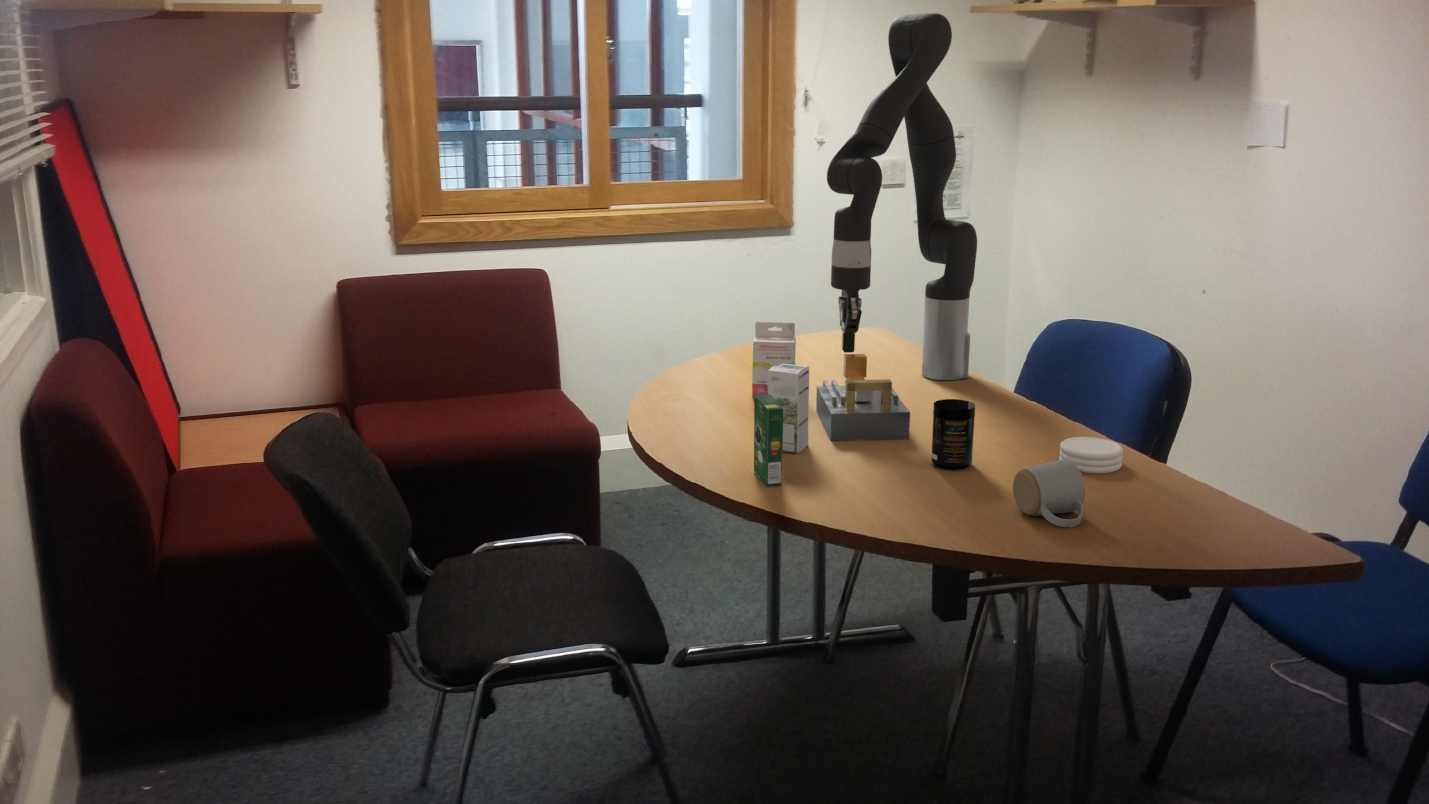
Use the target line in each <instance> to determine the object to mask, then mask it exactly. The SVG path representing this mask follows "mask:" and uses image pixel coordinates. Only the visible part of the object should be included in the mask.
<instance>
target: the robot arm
mask: <svg viewBox="0 0 1429 804" xmlns="http://www.w3.org/2000/svg"><path fill="white" fill-rule="evenodd" d="M887 36H888V39H887V40H888V50H889V55H890V60H891V63H892V67H893V71H894V76H895V77H894V78H893V80H892V81H891V82H890V83H888V84H887V85H886V86H885V87H884V88H883V89H882V90H881V91H880V92H879V93H878V94H876V96H875V97H874V98H873V100H872V101H871V102H870V103H869V105H868V106H867V107H866V110H864V113H863V115H862V117H861V119H860V122H859V123H858V125H857V127H856V130H855V131H854V133H853V134H852V135H851V136H850V137H849V139H847V141H845V143H844V144H843V145H842V146H841V148H840V149H838V151H837V152H836V154H835V155H834V156H833V157H832V159H831V161H830V162H829V164H828V168H827V172H826V181H827V185H828V187H829V189H830V190H831V191H832V192H834V193H836V194H839V195H851V196H852V195H853V197H852V200H851V202H850V205H849V206H845V207H842V208H838V209H837V210H836V211H835V213H834V218H833V219H834V221H833V243H832V247H831V248H832V249H831V271H830V273H831V275H830V286H831V288H833V289H835V290H840V291H841V292H840V293H841V294H840V295H841V296H838V301H837V303H838V311H839V315H838V317H839V325H840V330H841V332H842V337H841V340H842V341H841V343H842V344H841V350H842V351H843V353H844V354H850V353H854V352H855V345H856V342H855V341H856V334H857V333H858V331H859V327H860V322H861V317H862V312H863V311H862V309H861V308H862V302H863V301H862V298H860V294H859V292H860V290H861V291H865V290H867V289H870V287H871V274H872V273H871V271H872V243H871V242H872V241H871V239H872V238H871V237H872V218H873V214H874V211H875V209H876V204H877V201H878V197H879V195H880V191H881V188H882V184H883V172H882V168H881V166H880V164H879V163H878V161H877V160H875V159H874V158H876V157H880V156H882V155H884V154H885V153H886V152H887V151H888V150H889V148H890V146H891V144H892V142H893V140H894V138H895V136H896V134H897V132H898V130H899V127H900V126H901V124H902V122H903V121H904V122H905V129H906V138H907V139H906V140H907V145H908V153H909V158H910V159H909V160H910V164H911V169H912V170H911V172H912V177H913V183H914V191H915V192H914V193H915V194H914V195H915V200H916V201H915V202H916V203H915V204H916V220H917V221H916V222H917V237H918V238H917V239H918V245H919V246H918V247H919V250H920V253H921V255H922V257H923V258H924V259H925V260H926V261H927V262H930V263H934V264H940V265H945V266H944V271H943V272H944V273H943V275H942V276H941V277H940V278H937V279H933V280H930V281H928V282H927V283H926V284H925V285H926V286H925V292H924V295H925V296H924V298H925V299H924V318H923V320H924V321H923V339H922V340H923V341H922V343H923V344H922V359H921V360H922V361H921V362H922V363H921V376H922V377H925V378H927V379H931V380H937V381H958V380H961V379H969V368H970V352H971V351H970V348H971V347H970V346H971V334H970V333H969V314H970V313H969V312H970V294H971V289H972V286H973V284H974V279H975V272H976V271H975V270H976V260H977V251H978V236H977V232H976V228H975V227H974V226H973V224H972V223H970V222H967V221H963V220H961V221H960V220H952V219H946V215H945V210H944V198H943V197H944V191H945V188H946V185H947V183H948V181H949V179H950V177H951V174H952V172H953V169H954V167H955V164H956V162H957V161H956V159H957V148H956V141H955V140H956V139H955V132H954V127H953V125H952V122H951V119H950V118H949V116H948V113H947V112H946V111H945V109H944V108H943V106H942V105H941V104H940V102H939V101H938V100H937V98H936V97H935V95H934V94H933V92H932V90H931V89H930V87H929V85H928V82H929V80H930V79H931V77H932V76H933V75H934V73H935V72H936V70H937V69H938V68H939V66H940V65H941V63H942V62H943V60H944V59H945V57H946V55H947V54H948V53H949V50H950V48H951V46H952V45H951V43H952V38H953V32H952V26H951V23H950V21H949V20H948V18H947V17H946V16H945V15H943V14H941V13H938V12H937V13H935V12H934V13H932V12H931V13H930V12H929V13H915V14H913V13H912V14H903V15H899V16H897V17H895V18H894V19H893V20H892V22H891V24H890V26H889V30H888V35H887Z"/></svg>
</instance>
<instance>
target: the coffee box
mask: <svg viewBox="0 0 1429 804" xmlns="http://www.w3.org/2000/svg"><path fill="white" fill-rule="evenodd" d="M753 401H754V402H753V403H754V404H753V406H754V407H753V411H754V412H753V415H754V416H753V417H754V418H753V419H754V421H753V423H754V424H753V427H754V429H753V430H754V433H753V471H754V473H755V474H756V475H757V476H758V478H759V479H760V480H761V481H762V483H763V485H765V486H766V487H767V488H768V487H769V488H770V487H781V486H782V481H783V452H782V451H783V413H784V408H783V407H782V406H781V405H780V404H779V403H778V402H777V401H776V400H775V399H774V398H773V397H772V396H771V395H755V396H754V397H753Z"/></svg>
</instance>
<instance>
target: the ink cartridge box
mask: <svg viewBox="0 0 1429 804" xmlns="http://www.w3.org/2000/svg"><path fill="white" fill-rule="evenodd" d="M774 327H775V328H778V329H781V330H769V329H771V328H774ZM754 329H755V330H754V331H755V336H754V337H753V343H752V376H751V377H752V380H751V382H752V383H751V384H752V385H751V386H752V389H751V391H752V393H751V397H752V398H754V396H755V395H768V370H769V369H770V368H772V367H773V366H774V365H776V364H779V363H781V364H791V365H796V346H797V345H796V344H797V343H796V342H797V338H796V336H795V334H796V333H795V331H796V324H795V323H794V322H782V321H781V322H780V321H779V322H778V321H777V322H776V321H774V322H773V321H757V322H755V326H754Z"/></svg>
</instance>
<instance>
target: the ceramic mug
mask: <svg viewBox="0 0 1429 804" xmlns="http://www.w3.org/2000/svg"><path fill="white" fill-rule="evenodd" d="M1012 493H1013V498H1014V500H1015V503H1016V505H1017V507H1018V508H1019V509H1020V511H1021V512H1022V513H1024V514H1025V515H1027V516H1033V517H1036V516H1037V517H1038V516H1039V517H1040V516H1043V518H1044V519H1045V520H1047V522H1049V524H1052V525H1054V526H1055V527H1058V526H1060V528H1063V527H1070V528H1072V527H1071V526H1075V527H1077V526H1078V525H1080V524H1081V521H1082V519H1083V517H1084V513H1085V511H1084V507H1083V505H1084V502H1085V498H1086V486H1085V482H1084V478H1083V475H1082V472H1080V471H1079V469H1078V467H1077V466H1076V465H1075V464H1074V463H1073V462H1072V461H1070V460H1066V459H1063V460H1059V459H1058V460H1055V461H1050V462H1045V463H1040V464H1036V465H1032V466H1027V467H1025V468H1022V469H1020V470H1019V471H1017V473H1016V474H1015V476H1014V478H1013V482H1012ZM1071 512H1072V513H1073V512H1077V514H1078V517H1076V518H1072V519H1066V518H1061V517H1058V516H1057V515H1056V514H1063V513H1071ZM1054 514H1055V515H1054ZM1076 525H1077V526H1076Z"/></svg>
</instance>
